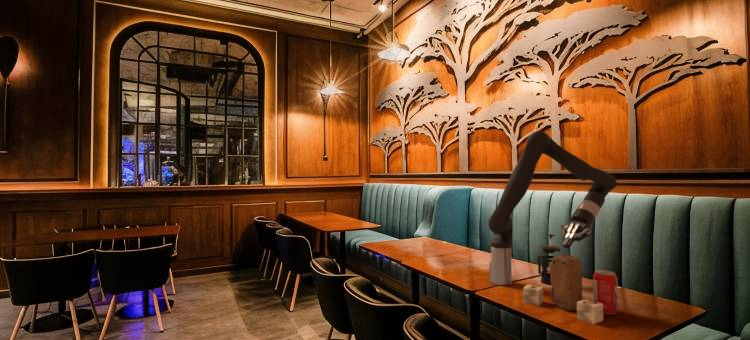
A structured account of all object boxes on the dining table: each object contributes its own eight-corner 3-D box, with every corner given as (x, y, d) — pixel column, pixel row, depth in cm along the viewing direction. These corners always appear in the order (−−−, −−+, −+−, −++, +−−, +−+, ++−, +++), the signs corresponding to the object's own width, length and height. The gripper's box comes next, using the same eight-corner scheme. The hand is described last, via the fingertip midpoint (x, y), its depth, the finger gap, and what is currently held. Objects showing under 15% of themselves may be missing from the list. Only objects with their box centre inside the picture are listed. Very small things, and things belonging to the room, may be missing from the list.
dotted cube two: (576, 318, 133) (576, 301, 133) (586, 315, 136) (585, 298, 136) (594, 324, 128) (593, 306, 128) (603, 320, 131) (602, 303, 131)
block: (584, 310, 140) (583, 258, 140) (568, 313, 138) (567, 259, 138) (562, 301, 150) (562, 252, 150) (547, 303, 148) (546, 253, 148)
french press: (568, 283, 174) (567, 235, 174) (555, 287, 169) (555, 237, 169) (545, 277, 184) (544, 231, 184) (533, 280, 179) (532, 233, 179)
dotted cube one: (523, 302, 150) (523, 287, 150) (528, 298, 154) (527, 283, 154) (538, 306, 146) (538, 290, 146) (543, 301, 150) (543, 286, 150)
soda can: (588, 310, 141) (588, 270, 141) (602, 306, 144) (601, 268, 144) (608, 317, 133) (608, 275, 134) (623, 313, 136) (622, 273, 137)
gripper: (566, 206, 154) (546, 238, 149) (596, 209, 142) (575, 243, 137) (575, 218, 157) (555, 249, 151) (606, 222, 145) (585, 256, 139)
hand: (565, 246), depth 144 cm, fingers closed
